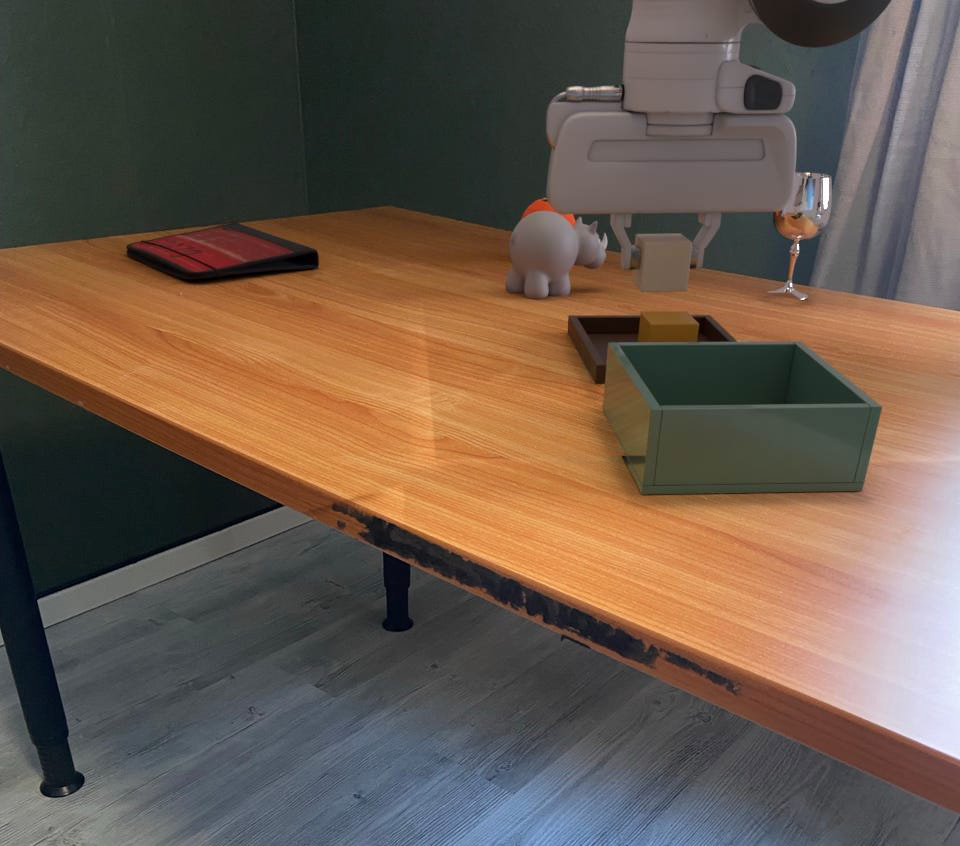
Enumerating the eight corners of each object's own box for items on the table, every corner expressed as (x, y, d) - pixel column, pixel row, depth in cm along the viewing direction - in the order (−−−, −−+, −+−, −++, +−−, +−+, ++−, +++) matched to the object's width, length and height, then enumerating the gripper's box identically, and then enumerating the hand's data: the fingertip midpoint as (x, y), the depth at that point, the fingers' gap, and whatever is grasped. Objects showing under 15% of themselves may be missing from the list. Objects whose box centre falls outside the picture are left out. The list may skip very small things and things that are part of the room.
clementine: (518, 250, 127) (520, 190, 123) (572, 251, 127) (576, 191, 123) (518, 263, 121) (520, 200, 117) (575, 265, 120) (579, 201, 117)
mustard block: (681, 358, 86) (687, 311, 84) (693, 372, 83) (699, 323, 80) (636, 358, 86) (640, 311, 84) (645, 372, 82) (650, 323, 80)
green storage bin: (787, 414, 76) (801, 341, 73) (862, 491, 64) (882, 406, 61) (601, 416, 75) (607, 342, 72) (641, 494, 63) (651, 409, 60)
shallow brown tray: (707, 337, 94) (710, 314, 93) (757, 389, 81) (761, 363, 80) (567, 338, 93) (568, 315, 92) (594, 390, 80) (596, 364, 79)
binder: (237, 220, 129) (319, 247, 115) (240, 239, 131) (321, 268, 117) (118, 238, 121) (190, 270, 107) (122, 258, 123) (194, 292, 109)
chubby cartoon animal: (623, 295, 108) (631, 211, 103) (529, 307, 103) (533, 219, 98) (586, 281, 113) (591, 201, 108) (494, 292, 108) (496, 208, 103)
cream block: (676, 281, 88) (681, 233, 86) (687, 291, 85) (692, 242, 83) (631, 281, 88) (635, 233, 86) (641, 292, 85) (645, 242, 83)
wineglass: (781, 286, 112) (800, 170, 106) (824, 296, 108) (848, 176, 102) (749, 294, 109) (767, 174, 102) (793, 304, 105) (815, 181, 99)
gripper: (552, 88, 75) (546, 278, 82) (816, 86, 76) (787, 274, 84) (542, 83, 80) (537, 262, 88) (789, 82, 82) (763, 258, 89)
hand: (661, 268), depth 86 cm, fingers closed on cream block, 4 cm apart
